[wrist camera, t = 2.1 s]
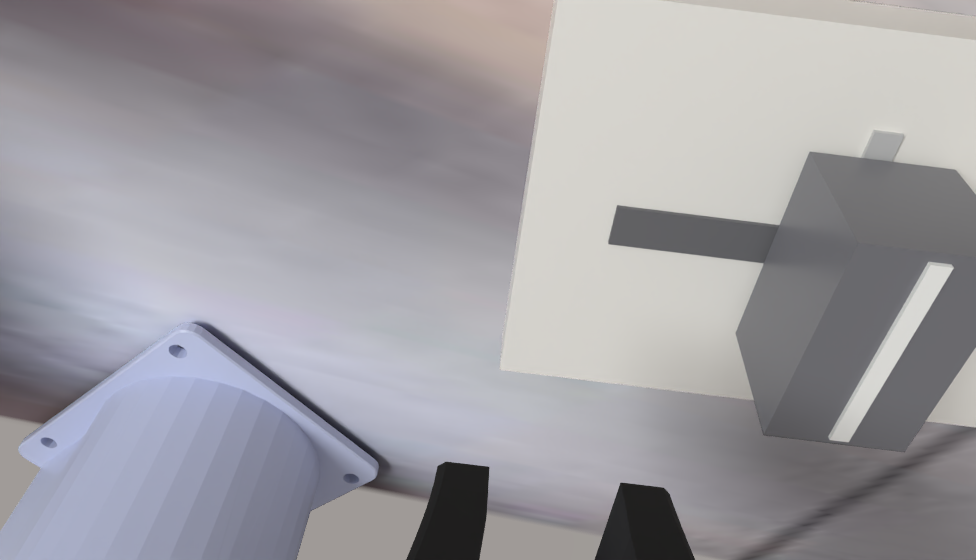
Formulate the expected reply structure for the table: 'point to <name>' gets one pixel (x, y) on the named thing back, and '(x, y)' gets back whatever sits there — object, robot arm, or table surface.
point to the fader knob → (862, 302)
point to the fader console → (709, 170)
